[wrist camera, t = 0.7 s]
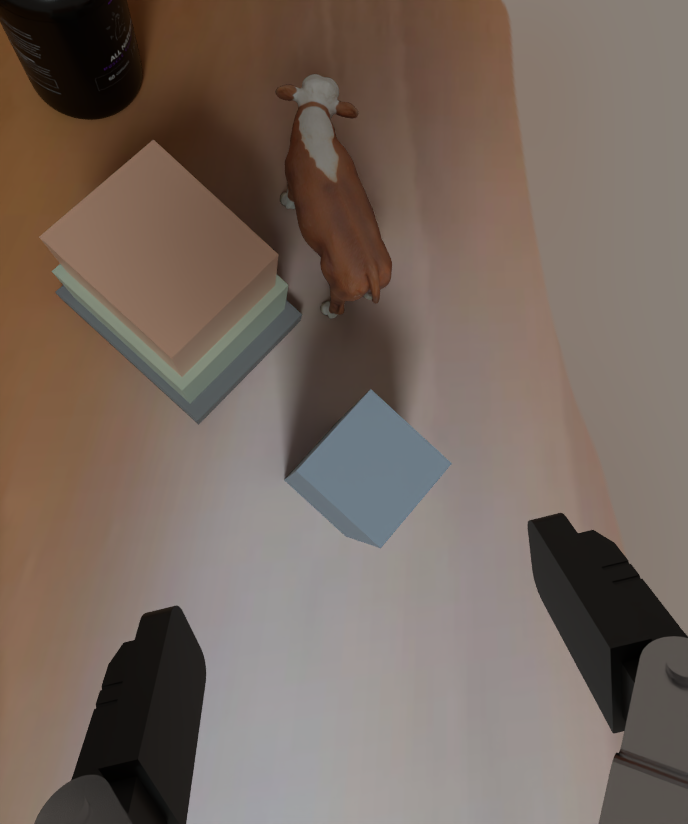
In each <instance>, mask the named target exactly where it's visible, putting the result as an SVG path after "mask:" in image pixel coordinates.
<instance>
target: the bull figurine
mask: <svg viewBox="0 0 688 824" xmlns="http://www.w3.org/2000/svg"><path fill="white" fill-rule="evenodd" d="M276 95H277V96H278V97H279V98H281V99H283V100H288V101H291V100H294V101H296V102H297V103H298V111H297V114H296V116H295V119H294V123H293V128H292V134H291V139H290V148H289V152H288V155H287V157H286V160H285V175H286V179H287V181H288V190H287V192H284V193H282V194H281V196H280V202H281V204H282V205H284V206H286V208H287V209H288V208H292V209H296V214H297V219H298V224H299V228H300V231H301V233H302V236H303V238H304V239H305V241H306V242H307V243H308V245H309V246H310V247H311V248H312V249H313V250H314V251H315V252H316V253H318V254H319V255H320V256H321V262H320V264H321V270H322V273H323V275H324V277H325V279H326V280H327V281H328V283H329V285H330V296H331V302H330V301H326V302H324V303H322V304H321V306H320V309H321V312H322V313H323V314H324V315H328V316H329V318H330V319H332V318H335V317H336V316H337V314H339V315H341V314H343V313H344V304H345V301H355V300H357V299H360V298H361V297H365V298H366V299H372V301H373V302H374V303H378V302H379V298H380V289H382V288H384V287H386V286H387V285H388V284H389V282H390V279H391V270H392V261H391V258H390V256H389V253H388V252H387V249H386V247H385V244H384V242H383V241H382V239H381V235H380V231H379V228H378V224H377V222H376V219H375V215H374V212H373V209H372V207H371V205H370V202H369V200H368V198H367V195H366V193H365V191H364V188H363V186H362V184H361V182H360V179H359V177H358V174H357V171H356V169H355V166H354V163H353V161H352V159H351V157H350V155H349V154H348V152H347V151H346V149H345V148H344V147H343V146H342V145H341V144H340V142H339V141H338V139H337V137H336V134H335V129H334V127H333V124H332V122H331V119H330V118H331V117H332V116H333V114H337V115H339V116H342V117H346V118H356V117H357V116H358V110H357V109H356V108H355V107H354V106H353V105H352V104H351V103H349V102H341V101H338V99H337V98H338V96H339V88H338V86H337V84H336V82H335V81H334V80H333V79H331V78H328V77H322V76H320V75H318V74H312V75H309V76H308V77H306V78H305V79H304V81H303V84H302V88H297V87H296V86H294V85H283V86H280V87H278V88H277V89H276Z"/></svg>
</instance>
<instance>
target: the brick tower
mask: <svg viewBox="0 0 688 824" xmlns="http://www.w3.org/2000/svg"><path fill="white" fill-rule="evenodd" d="M39 238H40V239H41V240H42V241H43V243H44V244H45V245H46V246H47V248H48V249H49V250H50V251H51V253H52V254H53V255H54V256H55V258H56V259H57V260H58V261H59V263H60V265H59V266H57V267H56V268H55V269H54V270H53V271H52V272H53V273H54V275H55V276H56V277H57V278H58V279H59V280H60V282H61V283H62V284H63V286H62V287H61V288H59V289H58V290H57V291H56V294H57V295H58V296H59V297H60V298H61V299H62V300H63V301H64V302H65V303H66V304H67V305H69V306H70V307H71V308H72V309H73V310H74V311H75V312H76V313H77V314H78V315H79V316H81V317H82V318H83V319H84V320H85V321H86V322H87V323H88V324H89V325H90V326H92V327H93V328H94V329H95V330H96V331H97V332H98V333H99V334H100V335H101V336H102V337H104V338H105V339H106V340H107V341H108V342H109V343H110V344H111V345H112V346H113V347H114V348H116V349H117V350H118V351H119V352H120V353H121V354H122V355H123V356H124V357H125V358H126V359H128V360H129V361H130V362H131V363H132V364H133V365H134V366H135V367H136V368H137V369H138V370H140V371H141V372H142V373H143V374H144V375H145V376H146V377H147V378H148V379H149V380H150V381H152V382H153V383H154V384H155V385H156V386H157V387H158V388H159V389H160V390H161V391H162V392H164V393H165V394H166V395H167V396H168V397H169V398H170V399H171V400H172V401H173V402H175V403H176V404H177V405H178V406H179V407H180V408H181V409H182V410H183V411H184V412H185V413H187V414H188V415H189V416H190V417H191V418H192V419H193V420H194V421H195V422H196V423H197V424H200V423H201V422H202V421H203V420H204V419H205V418H206V417H207V415H208V414H209V413H210V412H211V411H212V410H213V409H214V408H215V407H216V406H217V405H218V404H219V403H220V402H221V401H222V400H223V399H224V398H225V397H226V396H227V395H228V394H229V393H230V392H231V391H232V390H233V389H234V388H235V387H236V386H237V385H238V384H239V383H240V382H241V381H242V380H243V379H244V378H245V377H246V376H247V375H248V374H249V373H250V372H251V371H252V370H253V369H254V368H255V367H256V366H257V365H258V364H259V363H260V362H261V361H262V359H263V358H264V357H265V356H266V355H267V354H268V353H269V352H270V351H271V350H272V349H273V348H274V347H275V346H276V345H277V344H278V343H279V342H280V341H281V340H282V339H283V338H284V337H285V336H286V335H287V334H288V333H289V332H290V331H291V330H292V329H293V328H294V327H295V326H296V325H297V324H298V323H299V322H300V321H301V317H302V314H301V313H300V312H299V311H298V310H297V309H296V308H294V307H293V306H292V305H291V304H290V303H289V302H288V301H287V300H286V297H287V291H288V284H287V283H285V282H284V281H283V280H282V279H281V278H280V277H279V276H278V275H277V264H278V254H277V253H276V252H275V251H274V250H273V249H272V248H271V247H270V246H269V245H268V244H266V243H265V242H264V241H263V240H262V239H261V238H260V237H259V236H258V235H257V234H256V233H254V232H253V231H252V230H251V229H250V228H249V227H248V226H247V225H246V224H245V223H244V222H243V221H241V220H240V219H239V218H238V217H237V216H236V215H235V214H234V213H233V212H232V211H231V210H229V209H228V208H227V207H226V206H225V205H224V204H223V203H222V202H221V201H220V200H219V199H218V198H216V197H215V196H214V195H213V194H212V193H211V192H210V191H209V190H208V189H207V188H206V187H205V186H203V185H202V184H201V183H200V182H199V181H198V180H197V179H196V178H195V177H194V176H193V175H191V174H190V173H189V172H188V171H187V170H186V169H185V168H184V167H183V166H182V165H181V164H180V163H178V162H177V161H176V160H175V159H174V158H173V157H172V156H171V155H170V154H169V153H168V152H166V151H165V150H164V149H163V148H162V147H161V146H160V145H159V144H158V143H157V142H156V141H155V140H152V141H151V142H150V143H149V144H147V145H146V146H145V147H144V148H143V149H142V150H140V151H139V152H138V153H137V154H136V155H135V156H133V157H132V158H131V159H130V160H129V161H128V162H126V163H125V164H124V165H123V166H122V167H121V168H119V169H118V170H117V171H116V172H115V173H113V174H112V175H111V176H110V177H109V178H108V179H106V180H105V181H104V182H103V183H102V184H101V185H99V186H98V187H97V188H96V189H95V190H94V191H92V192H91V193H90V194H89V195H88V196H87V197H85V198H84V199H83V200H82V201H81V202H80V203H78V204H77V205H76V206H75V207H74V208H72V209H71V210H70V211H69V212H68V213H67V214H65V215H64V216H63V217H62V218H61V219H60V220H58V221H57V222H56V223H55V224H54V225H53V226H51V227H50V228H49V229H48V230H47V231H46V232H44V233H43V234H42V235H41V236H40V237H39Z"/></svg>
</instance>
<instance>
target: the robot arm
mask: <svg viewBox="0 0 688 824" xmlns="http://www.w3.org/2000/svg"><path fill="white" fill-rule="evenodd" d="M528 535H529V544H530V553H531V562H532V571H533V576H534V580H535V584H536V587H537V590H538V593H539V595H540V597H541V599H542V601H543V603H544V605H545V607H546V609H547V611H548V613H549V615H550V616H551V618H552V620H553V622H554V624H555V626H556V628H557V629H558V631H559V633H560V635H561V637H562V639H563V641H564V643H565V644H566V646H567V648H568V650H569V652H570V654H571V656H572V658H573V659H574V661H575V663H576V665H577V667H578V669H579V671H580V673H581V674H582V676H583V678H584V680H585V682H586V684H587V686H588V687H589V689H590V691H591V693H592V695H593V697H594V699H595V701H596V702H597V704H598V706H599V708H600V710H601V712H602V714H603V716H604V717H605V719H606V721H607V723H608V725H609V727H610V729H611V731H612V732H613V733H618V732H622V731H624V736H623V740H622V745H621V749H620V752H619V753H616V754H615V756H614V759H613V762H612V766H611V770H610V774H609V779H608V783H607V788H606V793H605V797H604V802H603V806H602V811H601V815H600V820H599V824H688V636H687V635H686V634H685V633H684V632H683V630H682V629H681V628H680V627H679V625H678V624H677V623H676V622H675V620H674V619H673V618H672V616H671V615H670V614H669V612H668V611H667V610H666V609H665V607H664V606H663V605H662V604H661V602H660V601H659V600H658V598H657V597H656V596H655V594H654V593H653V592H652V591H651V589H650V588H649V587H648V585H647V584H646V583H645V582H644V581H643V579H640V576H639V574H638V573H637V571H636V570H635V569H634V568H633V566H632V565H631V564H629V562H628V560H627V558H626V557H625V556H624V555H623V553H622V552H621V551H620V549H619V548H618V547H617V546H616V544H615V543H614V542H612V541H611V540H609V539H607V538H606V537H604V536H602V535H601V534H599V533H598V532H596V531H594V530H590V531H586V532H582V533H577V532H576V530H575V529H574V527H573V526H572V525H571V523H570V522H569V520H568V519H567V518H566V516H565V515H564V514H563V513H558V514H554V515H550V516H546V517H542V518H538V519H533V520H529V521H528ZM205 683H206V665H205V659H204V655H203V652H202V650H201V648H200V646H199V644H198V642H197V640H196V638H195V636H194V633H193V631H192V629H191V627H190V625H189V623H188V621H187V619H186V617H185V615H184V613H183V611H182V609H181V608H180V607H179V606H173V607H168V608H164V609H160V610H156V611H152V612H148V613H145V614H143V615H142V617H141V620H140V623H139V627H138V630H137V634H136V637H135V640H133V641H129V642H125V643H123V645H122V646H121V647H120V649H119V650H118V652H117V653H116V655H115V656H114V657H113V659H112V660H111V662H110V663H109V665H108V668H107V671H106V674H105V677H104V680H103V683H102V690H101V691H100V693H99V696H98V699H97V702H96V709H94V711H93V715H92V718H91V721H90V724H89V727H88V730H87V733H86V736H85V740H84V743H83V746H82V749H81V752H80V755H79V758H78V761H77V765H76V768H75V771H74V774H73V777H72V779H71V781H70V782H68V783H66V784H65V785H64V786H62V787H61V788H60V789H59V790H58V791H56V792H55V793H54V794H53V795H52V796H51V797H50V799H49V800H48V801H47V802H46V804H45V805H44V806H43V808H42V809H41V811H40V813H39V814H38V816H37V819H36V821H35V823H34V824H186V820H187V813H188V806H189V798H190V791H191V784H192V777H193V770H194V762H195V755H196V748H197V741H198V733H199V726H200V719H201V712H202V705H203V697H204V690H205Z"/></svg>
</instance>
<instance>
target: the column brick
mask: <svg viewBox="0 0 688 824" xmlns="http://www.w3.org/2000/svg"><path fill="white" fill-rule="evenodd" d="M451 464H452V463H451V462H450V461H448V460H447V459H446V458H445V457H444V456H443V455H442V454H441V453H440V452H439V451H438V450H437V449H435V448H434V447H433V446H432V445H431V444H430V443H429V442H428V441H427V440H426V439H425V438H423V437H422V436H421V435H420V434H419V433H418V432H417V431H416V430H415V429H414V428H413V427H411V426H410V425H409V424H408V423H407V422H406V421H405V420H404V419H403V418H402V417H401V416H400V415H398V414H397V413H396V412H395V411H394V410H393V409H392V408H391V407H390V406H389V405H388V404H386V403H385V402H384V401H383V400H382V399H381V398H380V397H379V396H378V395H377V394H376V393H374V392H373V391H372V390H371V389H370V390H369V391H368V392H367V393H366V394H365V395H364V396H363V397H362V398H361V399H360V400H359V401H358V402H357V403H356V404H355V405H354V406H353V407H352V408H351V409H350V410H349V411H348V412H347V413H346V414H345V415H344V416H343V417H342V418H341V419H340V420H339V421H338V422H337V423H336V424H335V425H334V426H333V427H332V428H331V430H330V431H329V432H328V433H327V434H326V435H325V436H324V437H323V438H322V439H321V441H320V442H319V443H318V444H317V445H316V446H315V447H314V448H313V449H312V450H311V451H310V453H309V454H308V455H307V456H306V457H305V458H304V459H303V460H302V461H301V462H300V463H299V465H298V466H297V467H296V468H295V469H294V470H293V471H292V472H291V473H290V474H289V476H288V477H287V478H286V479H285V481H286V482H287V483H288V484H289V485H290V486H291V487H292V488H293V489H295V490H296V491H297V492H298V493H299V494H300V495H301V496H302V497H303V498H304V499H305V500H307V501H308V502H309V503H310V504H311V505H312V506H313V507H314V508H315V509H316V510H317V511H319V512H320V513H321V514H322V515H323V516H324V517H325V518H326V519H327V520H328V521H329V522H331V523H332V524H333V525H334V526H335V527H336V528H337V529H338V530H339V531H340V532H341V533H343V534H344V535H345V536H346V537H349V538H352V539H355V540H358V541H361V542H364V543H367V544H370V545H373V546H376V547H379V548H381V547H382V546H383V545H384V544H385V543H386V541H387V540H388V539H389V538H390V537H391V535H392V534H393V533H394V532H395V531H396V529H397V528H398V527H399V526H400V525H401V523H402V522H403V521H404V520H405V519H406V517H407V516H408V515H409V514H410V513H411V512H412V510H413V509H414V508H415V507H416V506H417V504H418V503H419V502H420V501H421V500H422V498H423V497H424V496H425V495H426V494H427V492H428V491H429V490H430V489H431V488H432V487H433V485H434V484H435V483H436V482H437V481H438V479H439V478H440V477H441V476H442V475H443V473H444V472H445V471H446V470H447V469H448V467H449V466H450V465H451Z"/></svg>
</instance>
